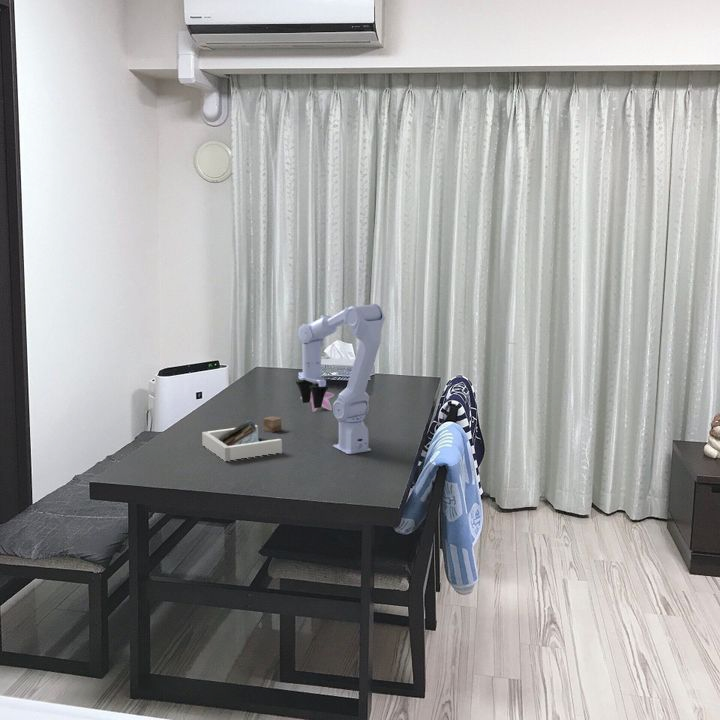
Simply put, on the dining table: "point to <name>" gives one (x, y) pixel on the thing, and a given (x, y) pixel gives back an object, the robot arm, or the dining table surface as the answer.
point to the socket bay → (239, 446)
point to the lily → (325, 402)
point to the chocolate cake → (241, 434)
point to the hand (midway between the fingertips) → (311, 405)
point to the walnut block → (272, 424)
